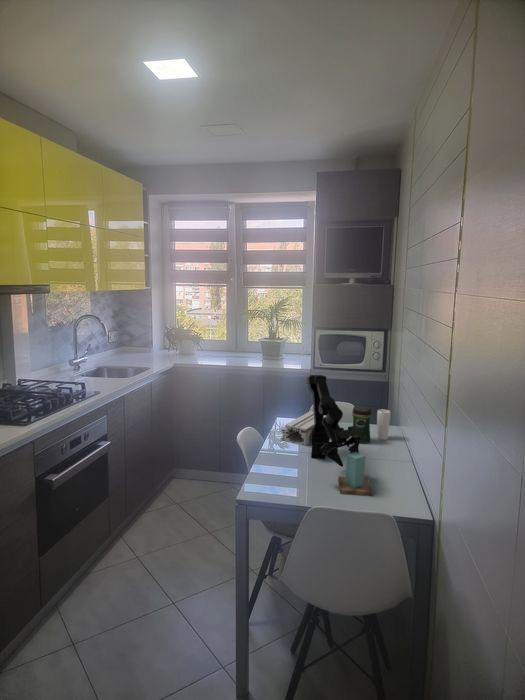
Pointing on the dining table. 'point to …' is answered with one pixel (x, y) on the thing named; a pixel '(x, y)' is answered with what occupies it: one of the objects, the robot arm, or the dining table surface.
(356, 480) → the teal block
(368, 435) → the coffee jar
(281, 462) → the dining table surface
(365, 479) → the walnut board
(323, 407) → the robot arm
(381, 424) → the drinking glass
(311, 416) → the aluminum extrusion profile
